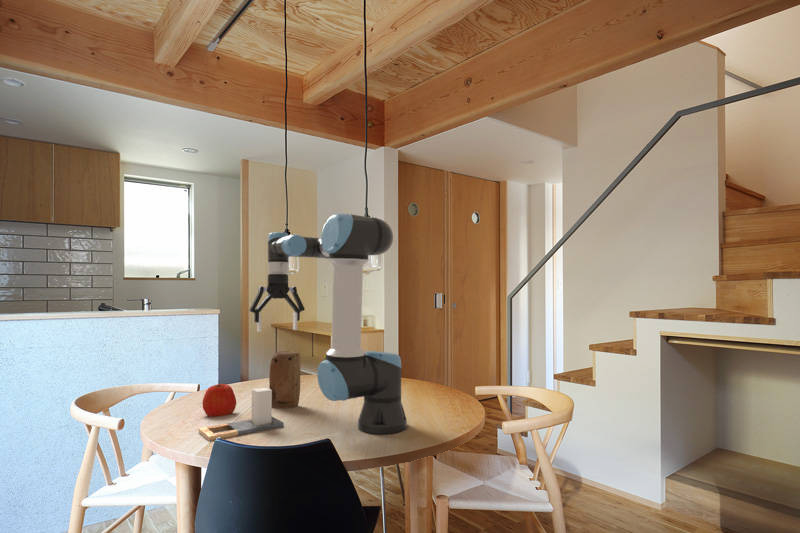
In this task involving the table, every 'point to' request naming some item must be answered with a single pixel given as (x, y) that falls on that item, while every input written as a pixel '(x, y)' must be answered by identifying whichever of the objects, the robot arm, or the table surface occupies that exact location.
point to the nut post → (261, 406)
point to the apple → (219, 400)
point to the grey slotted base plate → (237, 429)
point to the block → (285, 379)
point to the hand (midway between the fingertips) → (277, 330)
